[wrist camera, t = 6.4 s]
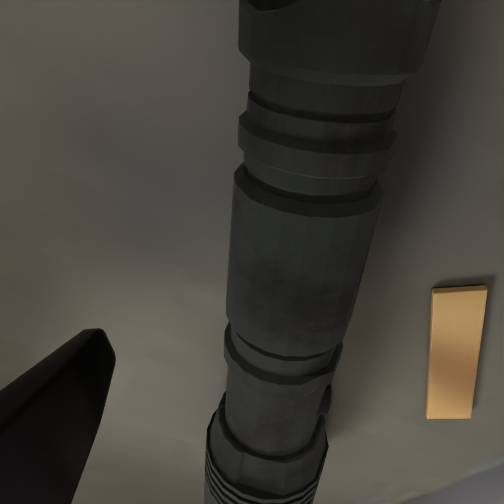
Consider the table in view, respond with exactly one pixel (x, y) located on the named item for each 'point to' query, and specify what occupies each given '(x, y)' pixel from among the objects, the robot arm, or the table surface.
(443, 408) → the wooden block
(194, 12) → the table surface
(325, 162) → the flashlight
